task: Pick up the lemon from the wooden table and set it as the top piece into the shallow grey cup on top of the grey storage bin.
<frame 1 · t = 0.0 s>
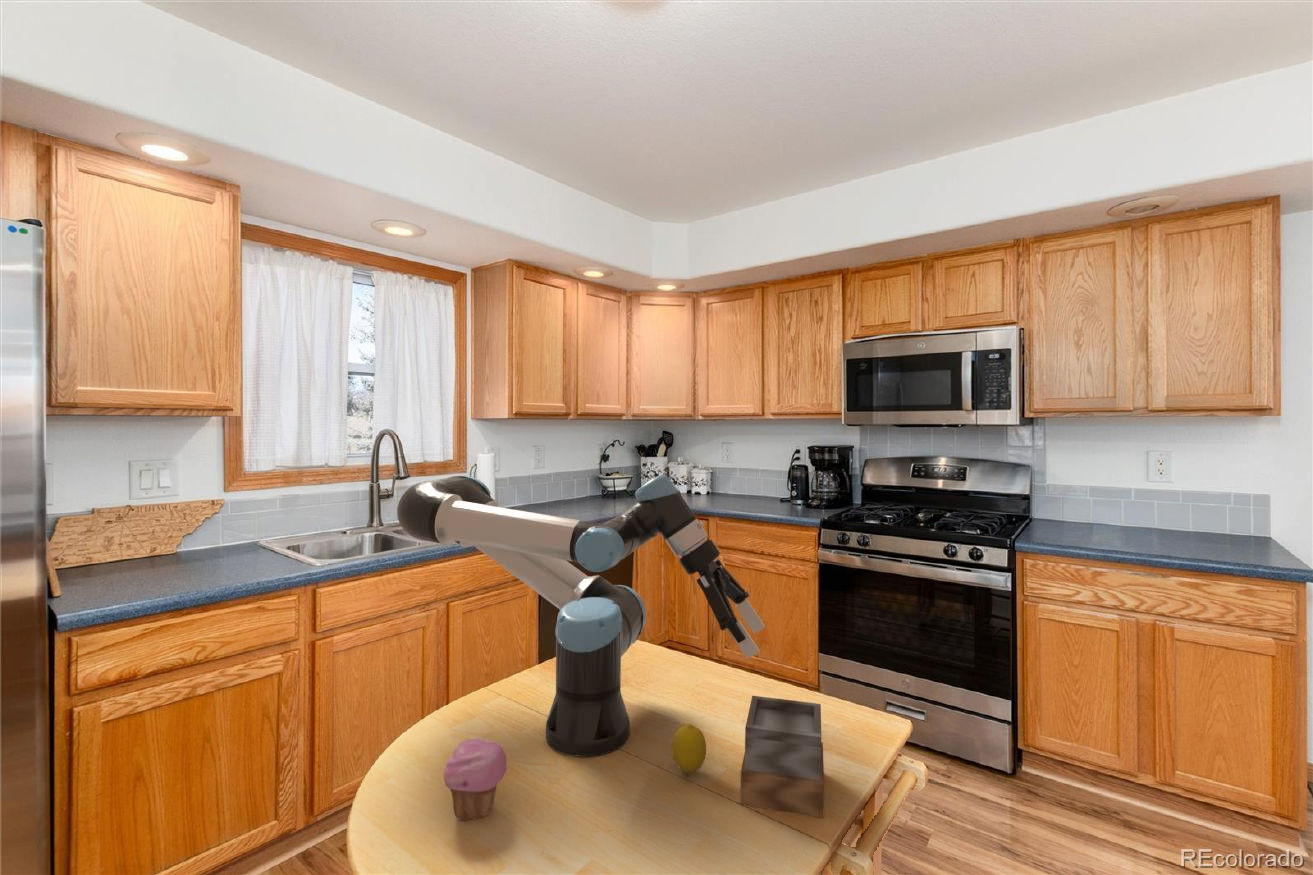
hand: (756, 642, 118), 15 cm above the table, tool tilted 35°, fingers open, 13 cm apart
cupcake: (475, 812, 90), on the table
lemon: (688, 774, 101), on the table
grey storage bin: (783, 787, 97), on the table
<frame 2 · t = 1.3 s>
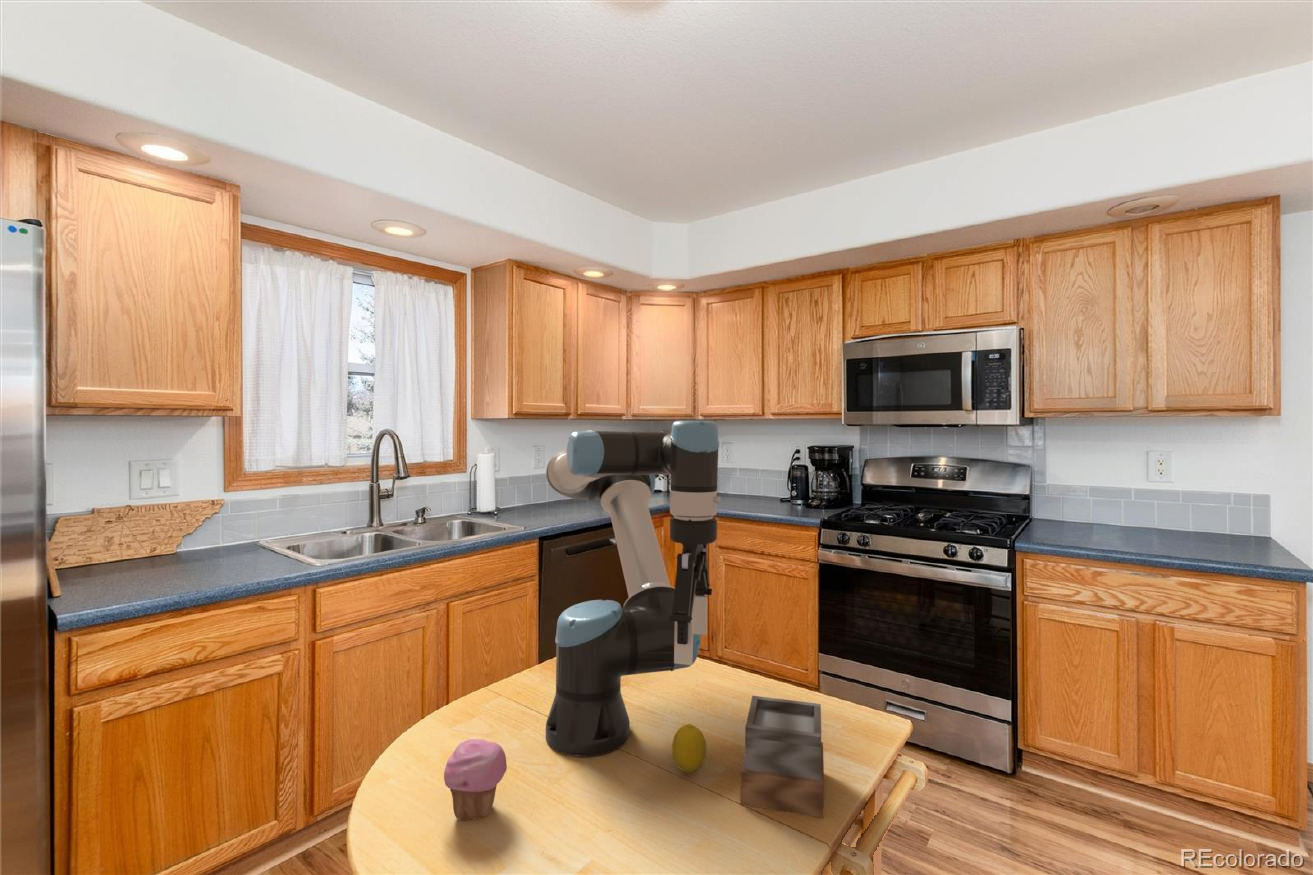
hand: (691, 647, 100), 20 cm above the table, tool pointing down, fingers open, 13 cm apart
nothing on the table moved.
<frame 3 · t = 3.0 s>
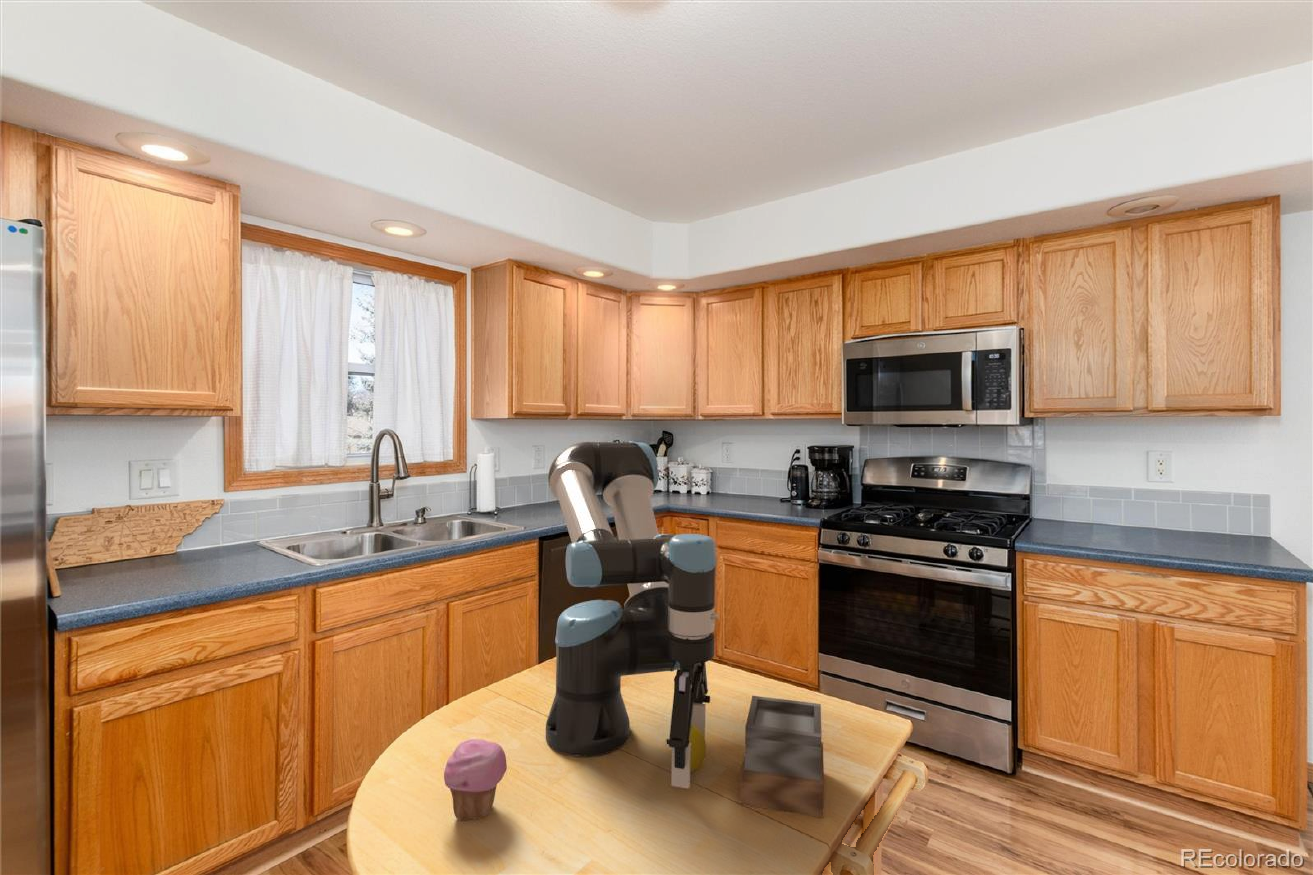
hand: (689, 762, 101), 2 cm above the table, tool pointing down, fingers open, 13 cm apart
nothing on the table moved.
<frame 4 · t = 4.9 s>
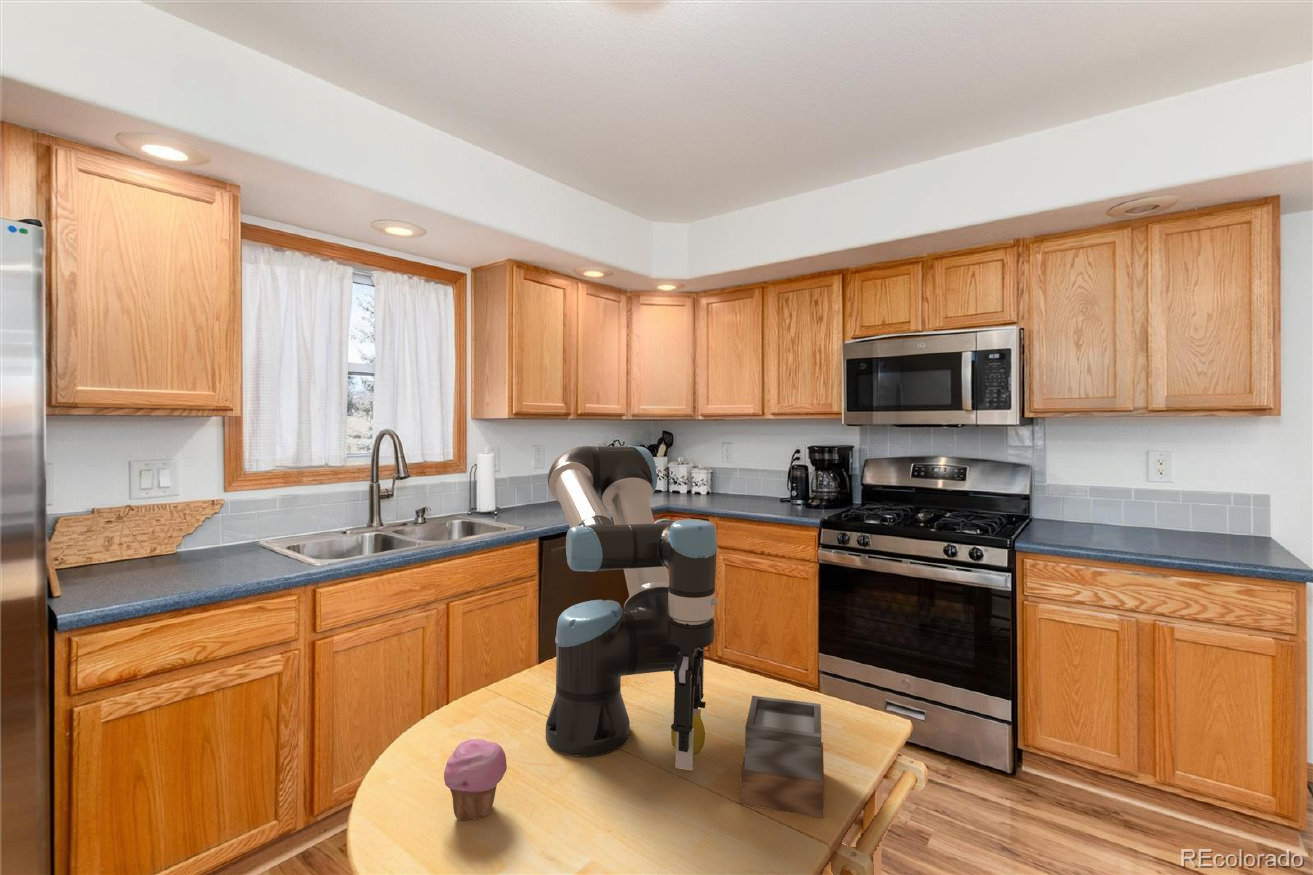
hand: (688, 757, 101), 2 cm above the table, tool pointing down, fingers closed on lemon, 5 cm apart
lemon: (687, 760, 101), point 2 cm above the table, touching gripper
everything else where it was.
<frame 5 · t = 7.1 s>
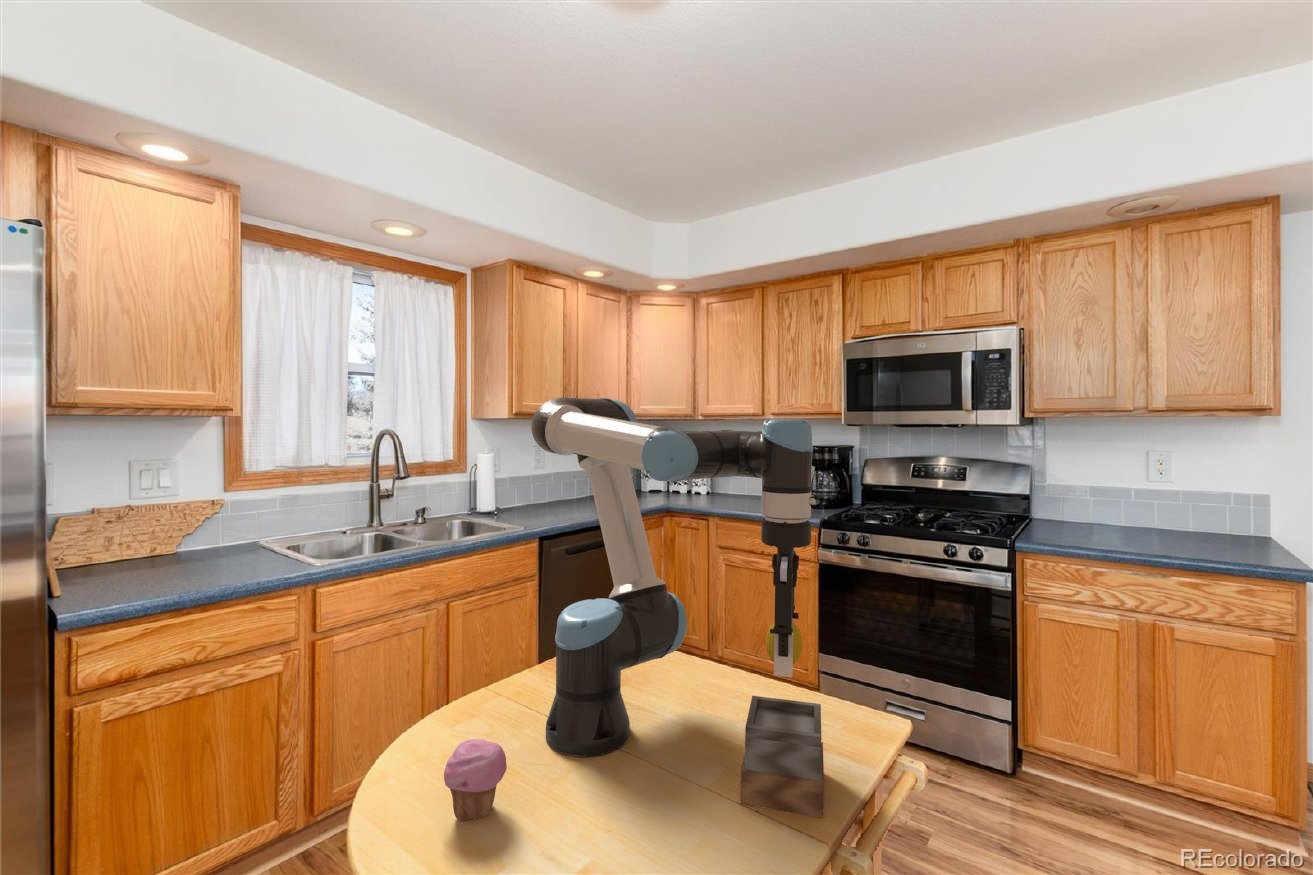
hand: (784, 667, 96), 19 cm above the table, tool pointing down, fingers closed on lemon, 5 cm apart
lemon: (783, 670, 97), point 19 cm above the table, touching gripper
everything else where it was.
when the fingers open (12 cm above the table, at t = 9.4 s): lemon drops 1 cm, resting on grey storage bin.
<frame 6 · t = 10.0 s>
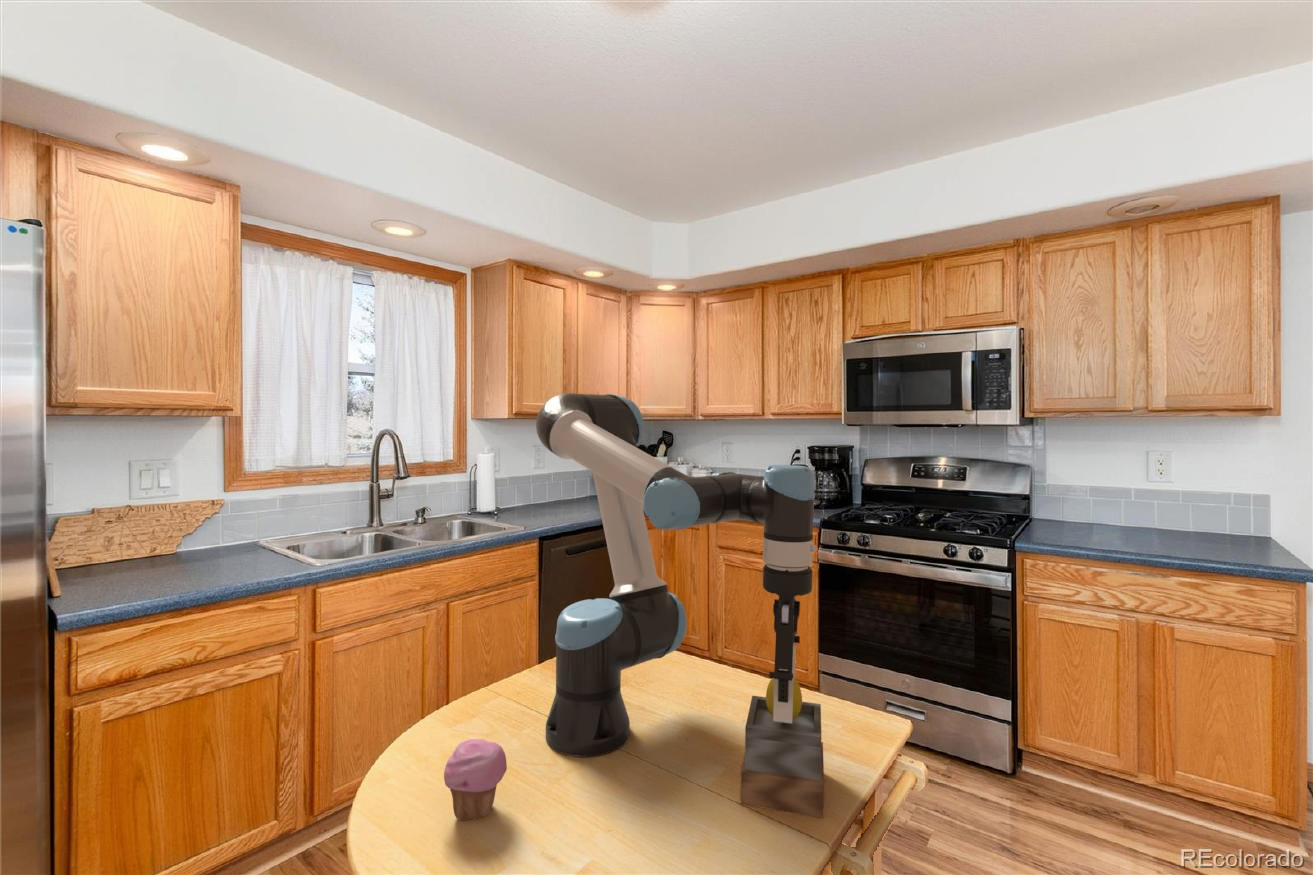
hand: (784, 701, 97), 14 cm above the table, tool pointing down, fingers open, 13 cm apart
lemon: (783, 724, 97), point 10 cm above the table, touching grey storage bin
everything else where it was.
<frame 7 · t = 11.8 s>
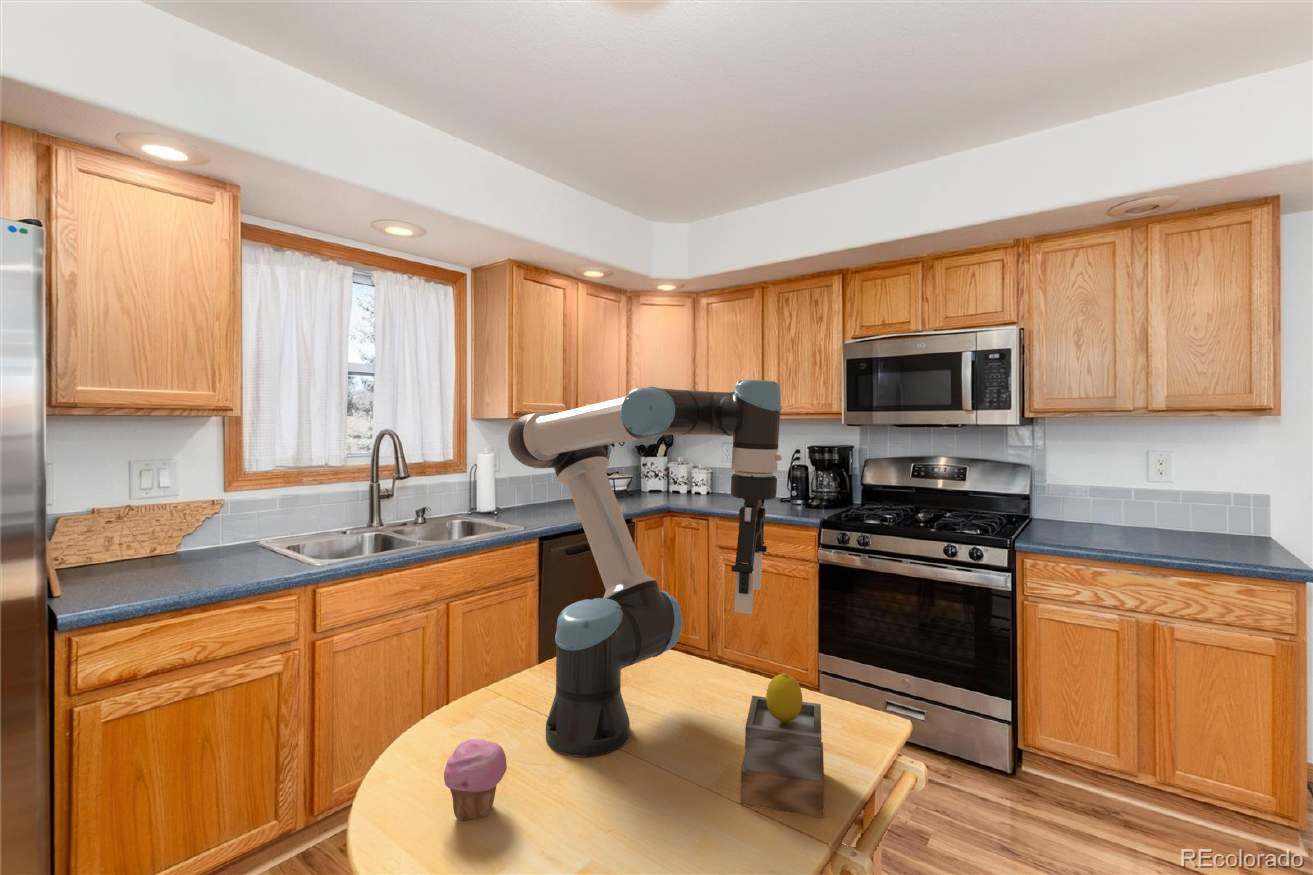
hand: (748, 600, 104), 27 cm above the table, tool pointing down, fingers open, 13 cm apart
nothing on the table moved.
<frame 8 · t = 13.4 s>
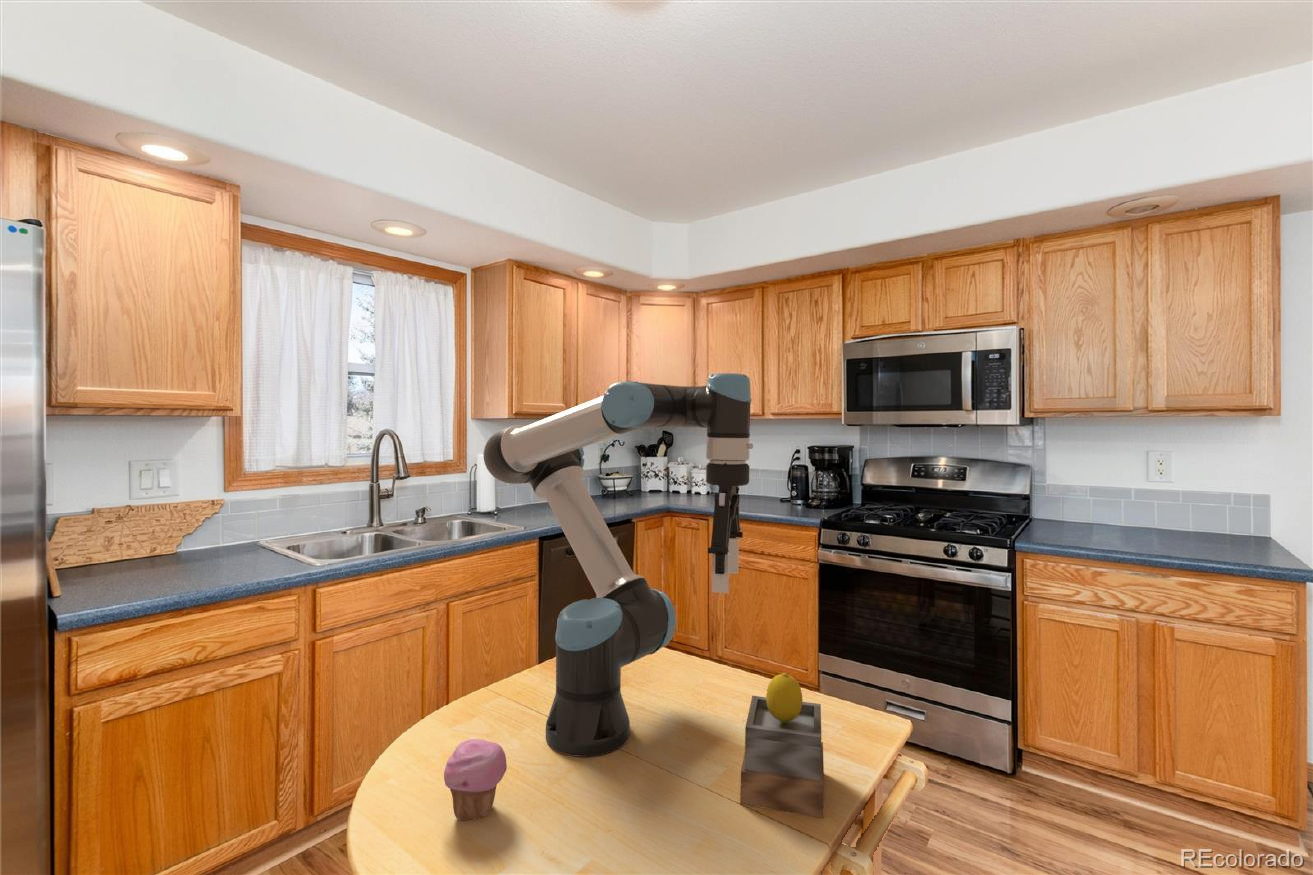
hand: (725, 582, 110), 29 cm above the table, tool pointing down, fingers open, 13 cm apart
nothing on the table moved.
at the end: lemon inside the target area on the grey storage bin (0.2 cm from its centre), point 9.8 cm above the grey storage bin's base; the gripper is holding nothing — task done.
